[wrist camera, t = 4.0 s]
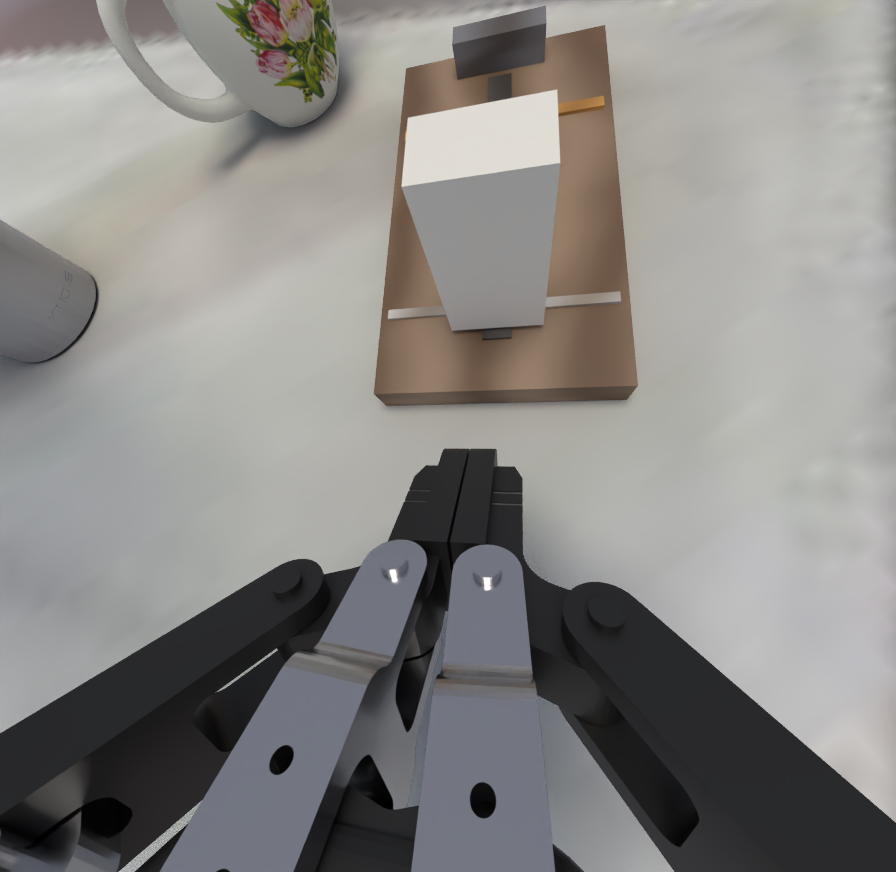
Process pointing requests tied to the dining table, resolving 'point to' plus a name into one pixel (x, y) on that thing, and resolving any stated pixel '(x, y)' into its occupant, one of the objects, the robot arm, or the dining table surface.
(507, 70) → the board
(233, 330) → the dining table surface
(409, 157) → the slider tab
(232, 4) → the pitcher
